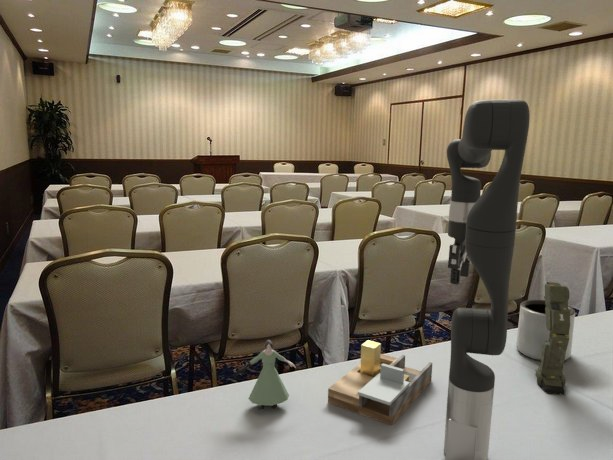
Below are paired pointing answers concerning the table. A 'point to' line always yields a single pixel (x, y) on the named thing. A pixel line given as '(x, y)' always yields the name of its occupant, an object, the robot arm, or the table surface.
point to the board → (348, 398)
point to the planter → (537, 329)
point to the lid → (385, 385)
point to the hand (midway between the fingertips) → (459, 279)
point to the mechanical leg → (555, 339)
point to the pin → (370, 358)
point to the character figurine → (267, 379)
